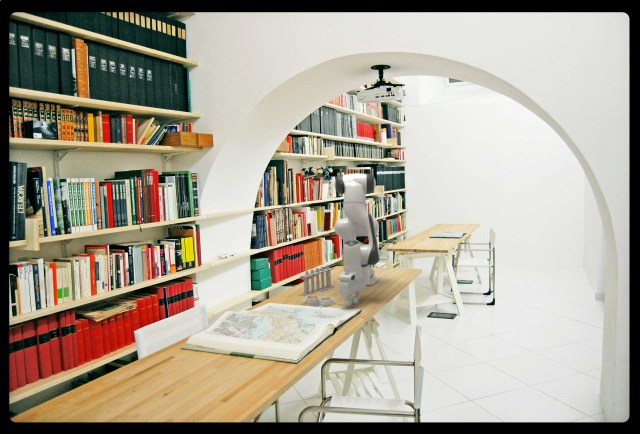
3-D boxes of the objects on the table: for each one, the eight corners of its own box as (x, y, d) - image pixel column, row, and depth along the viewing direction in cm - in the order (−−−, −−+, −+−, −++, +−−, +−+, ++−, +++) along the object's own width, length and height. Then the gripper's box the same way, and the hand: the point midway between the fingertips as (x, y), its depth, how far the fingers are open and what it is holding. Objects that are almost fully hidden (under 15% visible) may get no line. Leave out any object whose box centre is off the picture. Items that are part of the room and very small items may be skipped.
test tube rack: (306, 296, 257) (305, 272, 256) (300, 295, 260) (299, 271, 259) (334, 287, 276) (334, 264, 275) (328, 286, 279) (327, 263, 278)
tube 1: (311, 299, 249) (310, 294, 248) (322, 301, 245) (321, 296, 245) (303, 302, 243) (303, 297, 243) (314, 304, 239) (314, 299, 239)
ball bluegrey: (352, 302, 239) (352, 294, 239) (359, 303, 237) (359, 295, 237) (348, 304, 236) (348, 296, 236) (355, 305, 234) (355, 297, 234)
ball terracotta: (307, 301, 243) (309, 293, 242) (311, 299, 247) (313, 292, 246) (313, 304, 241) (315, 296, 240) (318, 302, 245) (319, 295, 244)
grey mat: (342, 301, 244) (342, 300, 243) (360, 303, 238) (360, 303, 238) (336, 304, 238) (336, 303, 238) (354, 307, 233) (354, 306, 233)
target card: (310, 300, 249) (310, 299, 249) (335, 303, 241) (335, 302, 241) (299, 305, 240) (299, 304, 240) (325, 308, 232) (325, 307, 232)
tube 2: (324, 301, 244) (323, 296, 244) (335, 302, 240) (335, 297, 240) (316, 304, 239) (316, 299, 238) (328, 306, 235) (328, 301, 235)
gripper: (357, 269, 246) (358, 296, 247) (336, 277, 229) (337, 305, 230) (368, 270, 242) (369, 297, 243) (348, 278, 225) (349, 307, 226)
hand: (353, 301), depth 237 cm, fingers closed on ball bluegrey, 4 cm apart
